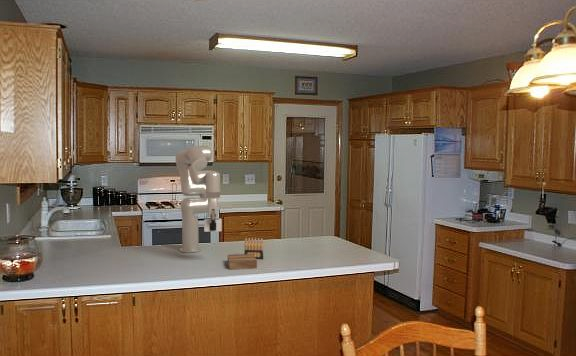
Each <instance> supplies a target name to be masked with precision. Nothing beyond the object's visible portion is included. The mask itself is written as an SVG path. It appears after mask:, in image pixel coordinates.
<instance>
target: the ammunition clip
mask: <svg viewBox="0 0 576 356" xmlns="http://www.w3.org/2000/svg"><path fill="white" fill-rule="evenodd" d="M247 238H248V239H247ZM263 242H264V241H263V238H262V237H261V238H259V237H258V238H256V237H255V238H253V237H251V238H250V237H245V239H244V253H243V254H254V256H255V258H256V260H264V243H263Z"/></svg>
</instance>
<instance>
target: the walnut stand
mask: <svg viewBox="0 0 576 356" xmlns="http://www.w3.org/2000/svg"><path fill="white" fill-rule="evenodd" d="M257 260H258V259H256V258H255V256H254V254H244V253H243V254H227V266H228V268H229V269H228V270H251V269H252V270H253V269H254V270H255V269H258V261H257Z"/></svg>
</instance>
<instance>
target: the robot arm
mask: <svg viewBox="0 0 576 356" xmlns="http://www.w3.org/2000/svg"><path fill="white" fill-rule="evenodd" d="M212 158H213V151H212V148H211V147H210V146H208V145H191V146H189V147H188V148H187V149H184V150H179V151H177V153H175V165H176V168H177V170H178V173H179V178H180V179H179V180H180V187H181V193H182V195H183V196H184V197H185V196H186V197H187V198H186V197H185V198H183V199H181V201H180V212H181V221H182V222H181V224H182V226H181V228H182V229H181V230H182V231H181V233H182V234H181V239H182V240H181V241H182V245H181V246H182V247H180V248H179V252H181V253H190V254H191V253H198V252H200V251H202V247H200V245H199V240H200V239H199V220H198V218H197V216H196V214H207V218H209V219H210V230H211V231H212V230H216V218H218V208H219V205H218V203H219V201H218V200H219V199H220V198H221V173H220V172H218V171H216V170H204V169H205V168H206V167H207V166H208V162H209V161H211V160H212ZM197 196H198V197H197ZM211 220H212V221H211Z"/></svg>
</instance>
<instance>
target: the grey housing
mask: <svg viewBox="0 0 576 356" xmlns="http://www.w3.org/2000/svg"><path fill="white" fill-rule="evenodd" d="M211 221H212V220H211ZM222 222H223V221H222V218H220V217H216V230H212V231H211V230H210V218H204V219H203V230H204V231H203V232H205V233H206V232H207V233H210V232H222V229H223V228H222V227H223V223H222Z"/></svg>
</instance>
